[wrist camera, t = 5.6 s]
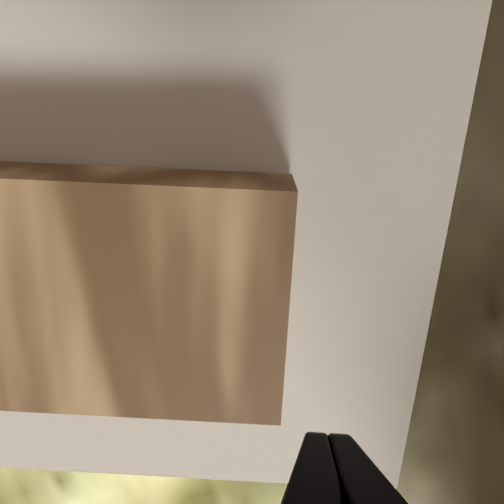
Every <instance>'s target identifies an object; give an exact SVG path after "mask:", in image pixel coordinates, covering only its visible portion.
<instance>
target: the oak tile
mask: <svg viewBox="0 0 504 504" xmlns="http://www.w3.org/2000/svg"><path fill="white" fill-rule="evenodd" d="M297 199H298V190H297V187H296V184H295V181H294V178H293V175H292V174H285V173H262V172H239V171H216V170H193V169H170V168H147V167H124V166H101V165H78V164H55V163H32V162H9V161H0V411H14V412H33V413H52V414H71V415H90V416H109V417H127V418H146V419H165V420H184V421H203V422H222V423H241V424H260V425H279V426H281V415H282V401H283V388H284V374H285V361H286V347H287V334H288V320H289V307H290V293H291V280H292V266H293V253H294V239H295V226H296V212H297Z"/></svg>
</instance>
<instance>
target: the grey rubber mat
mask: <svg viewBox="0 0 504 504" xmlns="http://www.w3.org/2000/svg"><path fill="white" fill-rule="evenodd" d="M491 5H492V0H0V161H9V162H32V163H55V164H78V165H101V166H124V167H147V168H170V169H193V170H216V171H239V172H262V173H285V174H292V175H293V178H294V181H295V184H296V187H297V190H298V199H297V212H296V226H295V239H294V253H293V266H292V280H291V293H290V307H289V320H288V334H287V347H286V361H285V374H284V388H283V401H282V415H281V426H279V425H260V424H241V423H222V422H203V421H184V420H165V419H146V418H127V417H109V416H90V415H71V414H52V413H33V412H14V411H0V467H1V468H19V469H37V470H55V471H73V472H91V473H109V474H127V475H145V476H163V477H181V478H199V479H217V480H235V481H252V482H270V483H288V482H289V479H290V476H291V473H292V470H293V468H294V465H295V462H296V459H297V456H298V453H299V450H300V448H301V445H302V442H303V439H304V436H305V434H306V433H307V432H323V433H326V434H327V435H329V434H330V433H341V434H349V435H350V436H351V437H352V438H353V439H354V440H355V441H356V442H357V444H358V445H359V446H360V447H361V448H362V450H363V451H364V452H365V453H366V454H367V455H368V457H369V458H370V459H371V460H372V461H373V463H374V464H375V465H376V466H377V467H378V469H379V470H380V471H381V472H382V473H383V474H384V476H385V477H386V478H387V479H388V480H389V482H390V483H391V484H392V485H393V486H394V488H395V489H396V490H397V486H398V481H399V476H400V471H401V466H402V461H403V456H404V450H405V445H406V440H407V435H408V430H409V425H410V420H411V415H412V409H413V404H414V399H415V394H416V389H417V384H418V379H419V374H420V368H421V363H422V358H423V353H424V348H425V343H426V338H427V333H428V327H429V322H430V317H431V312H432V307H433V302H434V297H435V292H436V286H437V281H438V276H439V271H440V266H441V261H442V256H443V251H444V245H445V240H446V235H447V230H448V225H449V220H450V215H451V210H452V204H453V199H454V194H455V189H456V184H457V179H458V174H459V169H460V163H461V158H462V153H463V148H464V143H465V138H466V133H467V128H468V122H469V117H470V112H471V107H472V102H473V97H474V92H475V87H476V81H477V76H478V71H479V66H480V61H481V56H482V51H483V46H484V40H485V35H486V30H487V25H488V20H489V15H490V10H491Z"/></svg>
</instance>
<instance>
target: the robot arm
mask: <svg viewBox="0 0 504 504" xmlns="http://www.w3.org/2000/svg"><path fill="white" fill-rule="evenodd" d="M281 504H408V503H407V502H406V501H405V499H404V498H403V497H402V496H401V495H400V494H399V492H398V491H397V490H396V489H395V488H394V486H393V485H392V484H391V483H390V482H389V480H388V479H387V478H386V477H385V476H384V474H383V473H382V472H381V471H380V470H379V469H378V467H377V466H376V465H375V464H374V463H373V461H372V460H371V459H370V458H369V457H368V455H367V454H366V453H365V452H364V451H363V450H362V448H361V447H360V446H359V445H358V444H357V442H356V441H355V440H354V439H353V438H352V437H351V436H350V435H349V434H341V433H330V434H329V435H327V434H326V433H323V432H307V433H306V434H305V436H304V439H303V442H302V445H301V448H300V450H299V453H298V456H297V459H296V462H295V465H294V468H293V470H292V473H291V476H290V479H289V482H288V485H287V488H286V490H285V493H284V496H283V499H282V502H281Z"/></svg>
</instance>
